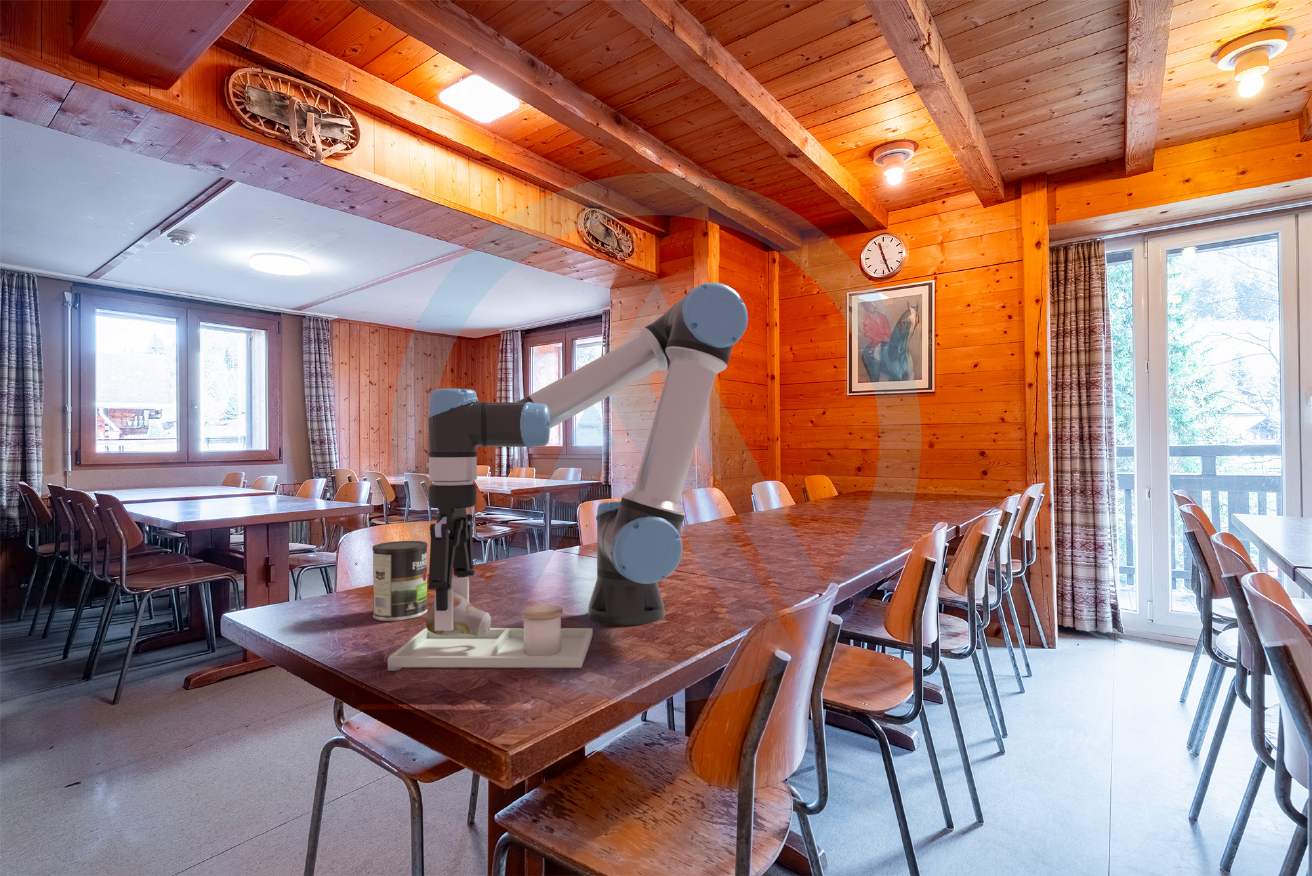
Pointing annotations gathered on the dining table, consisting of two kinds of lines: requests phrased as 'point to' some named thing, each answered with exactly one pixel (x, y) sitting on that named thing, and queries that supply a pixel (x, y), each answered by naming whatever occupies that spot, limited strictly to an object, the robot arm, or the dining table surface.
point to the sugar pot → (542, 630)
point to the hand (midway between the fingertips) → (452, 622)
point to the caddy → (488, 650)
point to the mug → (462, 618)
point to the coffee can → (399, 580)
